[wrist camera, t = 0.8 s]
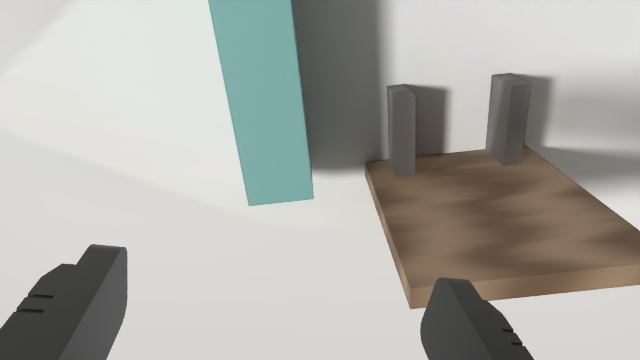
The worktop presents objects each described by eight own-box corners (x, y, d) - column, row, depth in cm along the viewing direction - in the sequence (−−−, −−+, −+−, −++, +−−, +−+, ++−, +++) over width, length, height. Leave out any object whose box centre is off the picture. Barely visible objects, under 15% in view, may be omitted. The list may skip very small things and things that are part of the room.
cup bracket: (535, 70, 29) (718, 145, 16) (523, 159, 32) (671, 281, 19) (361, 88, 29) (410, 177, 16) (365, 176, 32) (410, 309, 19)
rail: (280, -95, 24) (276, -115, 19) (310, 160, 31) (313, 198, 26) (211, -88, 24) (187, -105, 19) (256, 166, 31) (248, 206, 26)
